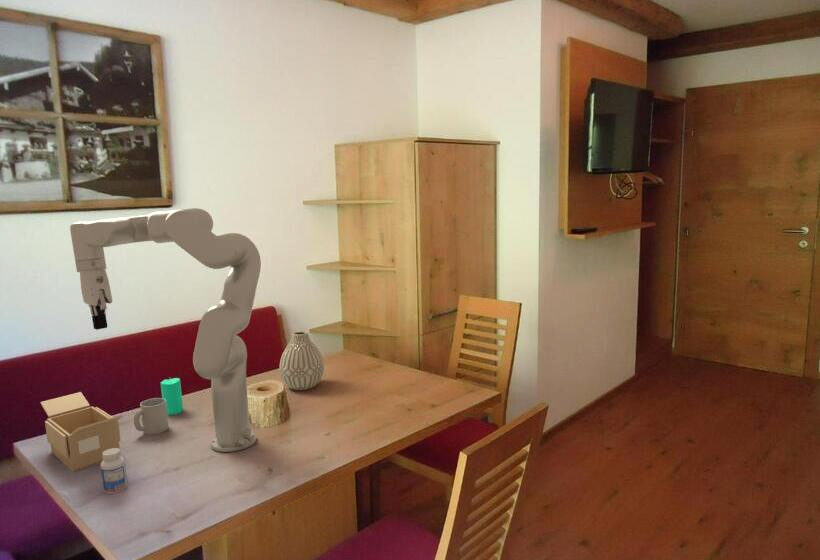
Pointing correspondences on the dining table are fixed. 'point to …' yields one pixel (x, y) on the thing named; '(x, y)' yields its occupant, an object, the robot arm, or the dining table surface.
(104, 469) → the pill bottle
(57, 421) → the carton
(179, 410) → the candle
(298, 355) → the vase
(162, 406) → the cup
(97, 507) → the dining table surface
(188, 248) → the robot arm
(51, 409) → the long flap far
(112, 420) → the long flap near
